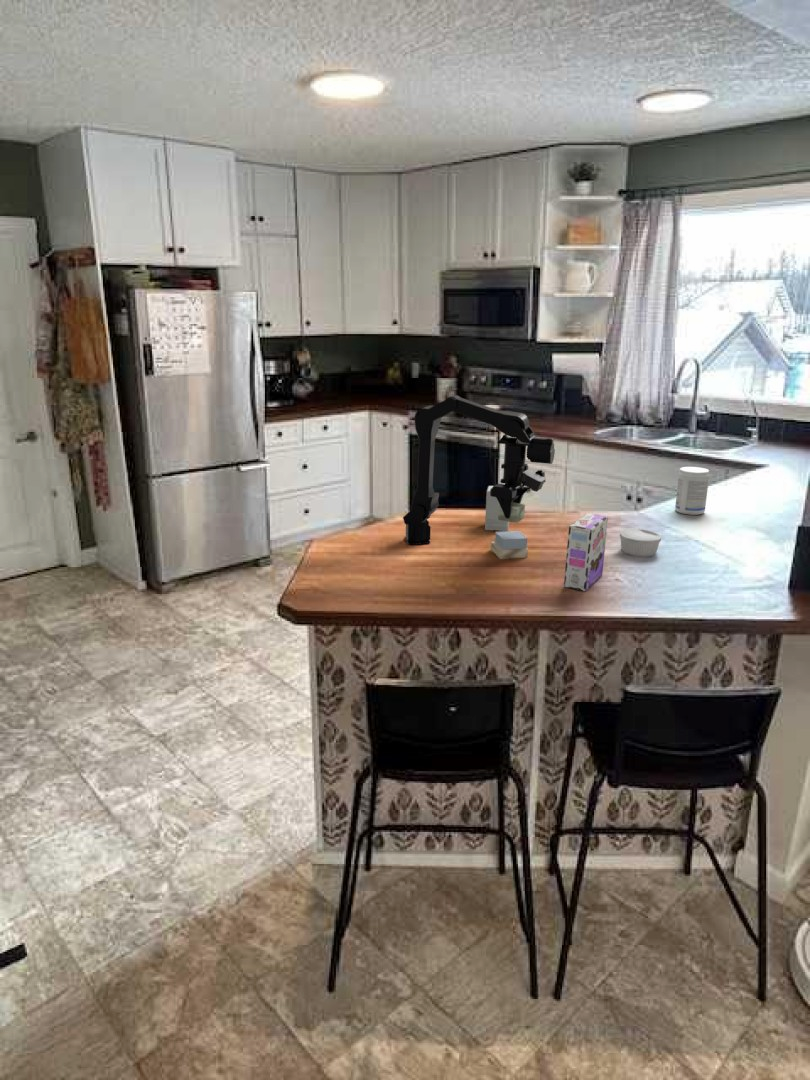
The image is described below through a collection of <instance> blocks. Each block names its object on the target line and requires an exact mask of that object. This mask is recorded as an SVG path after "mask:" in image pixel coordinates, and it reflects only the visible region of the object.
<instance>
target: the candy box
mask: <svg viewBox="0 0 810 1080" xmlns="http://www.w3.org/2000/svg"><path fill="white" fill-rule="evenodd" d="M608 520H609V518H608V516H607V515H600V514H595V513H590V512H586V513H585V514H584V515H583V516H581V517H580V518H579V519H577V520H575V521H574V522H573V523H572V524H570V525H568V536H567V545H566V546H567V548H566V555H565V556H566V557H565V558H566V560H565V571H564V582H563V587H564V588H568V589H572V588H573V590H576V589H578V590H577V591H580V590H583V591H582V592H586V591H588V590H589V589H590V588H591V587H592V586H593V585H594V584H595V583H596V582H597V581H598V580H599V579H600V578H601V577H602V576H603V571H604V561H605V550H606V542H607V541H606V539H607V528H608ZM600 576H601V577H600ZM598 578H599V579H598ZM597 579H598V580H597ZM596 580H597V581H596ZM595 581H596V582H595ZM594 582H595V583H594ZM593 583H594V584H593ZM592 584H593V585H592ZM591 585H592V586H591ZM590 586H591V587H590ZM587 589H588V590H587Z"/></svg>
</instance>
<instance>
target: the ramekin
mask: <svg viewBox="0 0 810 1080" xmlns="http://www.w3.org/2000/svg"><path fill="white" fill-rule="evenodd" d="M619 537H620V548H621V551H622V552H624V553H625V554H627V555H629V556H634V557H640V558H643V557H644V558H645V557H652V556H654V555H656V553H657V551H658V548H659V545H660V542H661V541H662V535H660V534H659V533H657V532H654V531H651V530H648V529H640V528H628V529H624V530H622V531H620V533H619Z"/></svg>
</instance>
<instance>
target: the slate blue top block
mask: <svg viewBox="0 0 810 1080" xmlns="http://www.w3.org/2000/svg"><path fill="white" fill-rule="evenodd" d="M494 535H495V536H494V542H495V543H496V544H497V545H498V546H499V547H500V548H501V549H502V550H509V549H525V548H528V547H527V546H528V537H527V536H526V535H525V534H523V533H522V532H521V531H520V530H511V531H510V530H508V531H495V534H494Z"/></svg>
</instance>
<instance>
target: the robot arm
mask: <svg viewBox="0 0 810 1080" xmlns="http://www.w3.org/2000/svg"><path fill="white" fill-rule="evenodd" d="M452 412H453V413H455V414H456V413H457V414H460V415H462V416H465V417H468V418H470V419H474V420H477V421H480V422H482V423H485V424H488V425H491V426H492V427H494V428H495V429H496V430H498V431H499V432H500V433H503V435H502V437H501V438H500V439H499V440H498V441H497V444H500V445H504V455H503V456H504V457H503V463H502V464H501V468H500V469H502V470H503V472H502V473H503V474H502V475H503V476H502V478H500V483H496V485H493V486H494V487H492V488H491V489H490V496H492V497H496V498H497V500H498V502H499V504H500V506H501V508H502V511H503V513H504V516H505V518H508V519H509V518H510V514H511V510H512V505H513V503H519V504H522V503H521V502H522V501H523V497H524V495H525V494H526V493H527V492H529V491H530V489H531V491H533V492H539V491H540V490H542V488H543V485H544V484H545V483H546V476H545V475H546V474H545V471H544V470H543V469H538V470H536V471H534V470H529V465H528V463H526V458H527V459H528V460H530V463H536V464H537V463H539V464H548V465H552V464H553V463H554V459H555V455H556V454H555V452H556V450H555V443H554V440H555V439H554V438H553V437H546V438H545V437H537V436H536V433H535V432H534V431H533V429H532V428H531V426H530V421H529V418H528V416H527V415H526V414H524V413H523V412H516V411H509V410H506V411H505V410H499V409H495V408H492V407H489V406H487V405H483V404H481V403H478V402H475V401H472V400H469V399H466V398H463V397H461V396H459V395H457V394H454V395H451V396H449V397H447V398H445V400H443V401H441V402H439V403H437V404H434V405H428V406H425V407H423V408H420V409H418V410H417V411H416V412H415V414H414V419H413V420H414V426H415V427H414V428H415V431H416V435H417V438H418V455H417V457H418V458H417V460H418V461H417V477H416V478H417V481H416V483H417V484H416V490H415V493H414V495H413V498H412V501H411V507H410V510H409V511H408V512H407V513H406V514H405V515H404V516H403V517H402V520H403V522H404V524H405V536H403V537H404V538H403V539H404V540H405V541H406V543H407V544H408V545H410V546H411V545H412V546H413V545H414V546H415V545H425V544H426V545H427V544H431V541H430V540H431V526H430V522H429V520H428V519H430V518H431V516H432V514H434V513H435V512H436V511H437V508H438V507H439V506H440V504H439V497H440V492H435V489H434V486H433V484H434V468H435V467H434V466H435V465H434V464H435V463H434V462H435V448H436V447H435V444H436V437H437V434H438V432H439V429H440V426H441V420H442V418H443V417H445V416H447V415H449V414H451V413H452Z"/></svg>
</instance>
